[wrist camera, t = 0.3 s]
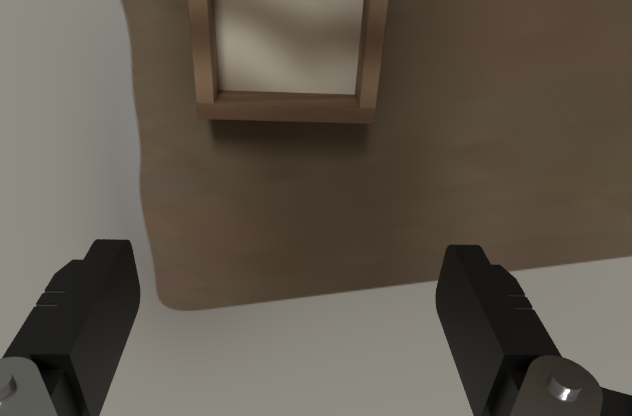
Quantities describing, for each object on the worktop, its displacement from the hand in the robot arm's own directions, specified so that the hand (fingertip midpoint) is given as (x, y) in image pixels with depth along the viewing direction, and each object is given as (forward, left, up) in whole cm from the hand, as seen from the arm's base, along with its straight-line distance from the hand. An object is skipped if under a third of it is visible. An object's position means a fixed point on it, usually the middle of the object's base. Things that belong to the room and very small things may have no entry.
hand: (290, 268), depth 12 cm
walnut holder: (-1, 0, -27) cm, 27 cm away
